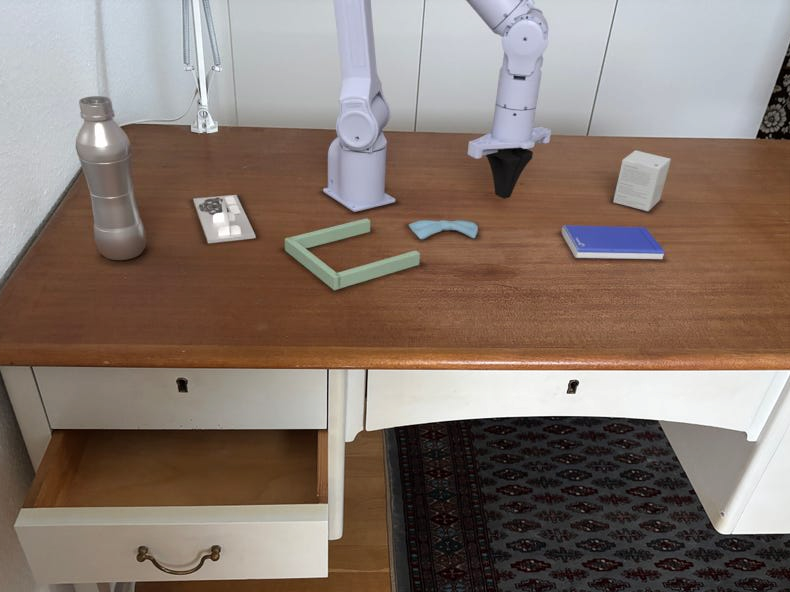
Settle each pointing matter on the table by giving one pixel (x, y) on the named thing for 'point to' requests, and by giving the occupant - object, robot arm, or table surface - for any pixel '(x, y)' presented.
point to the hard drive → (611, 242)
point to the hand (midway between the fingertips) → (502, 195)
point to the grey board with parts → (223, 219)
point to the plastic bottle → (109, 180)
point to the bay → (352, 276)
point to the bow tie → (443, 227)
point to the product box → (641, 180)
